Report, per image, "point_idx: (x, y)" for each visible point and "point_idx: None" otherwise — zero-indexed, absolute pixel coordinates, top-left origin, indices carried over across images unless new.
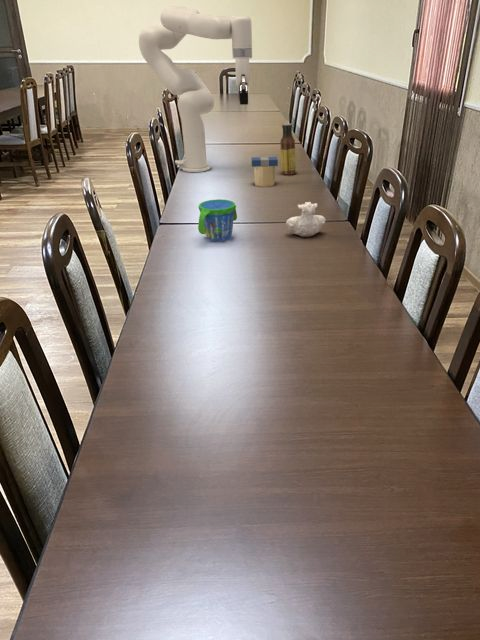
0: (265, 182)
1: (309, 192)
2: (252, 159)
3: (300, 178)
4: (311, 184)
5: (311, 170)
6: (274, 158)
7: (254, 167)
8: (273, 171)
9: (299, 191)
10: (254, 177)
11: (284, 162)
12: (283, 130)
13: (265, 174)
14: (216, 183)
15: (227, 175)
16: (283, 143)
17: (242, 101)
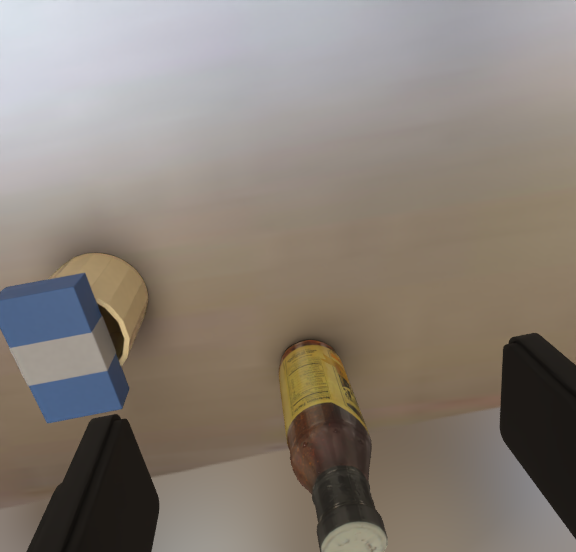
0: None
1: (10, 462)
2: (12, 302)
3: (227, 412)
4: None
5: (368, 432)
6: (72, 406)
7: None
8: None
9: (14, 431)
10: (77, 264)
11: (285, 384)
12: (330, 499)
13: None
14: (64, 43)
15: (264, 76)
16: (298, 444)
17: (58, 490)
